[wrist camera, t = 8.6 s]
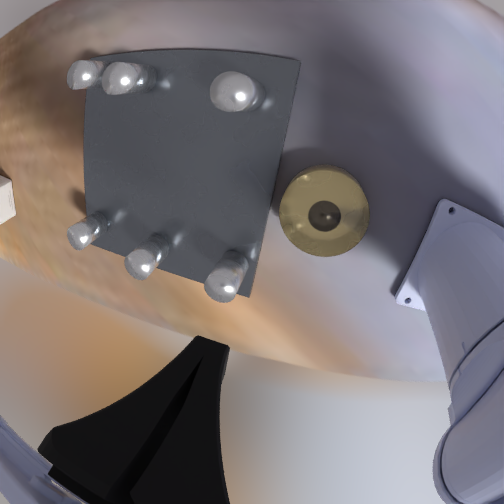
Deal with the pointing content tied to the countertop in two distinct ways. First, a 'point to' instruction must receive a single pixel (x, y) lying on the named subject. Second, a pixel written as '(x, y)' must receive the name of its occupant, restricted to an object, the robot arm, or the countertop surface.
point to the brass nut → (324, 211)
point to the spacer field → (183, 160)
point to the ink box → (6, 200)
